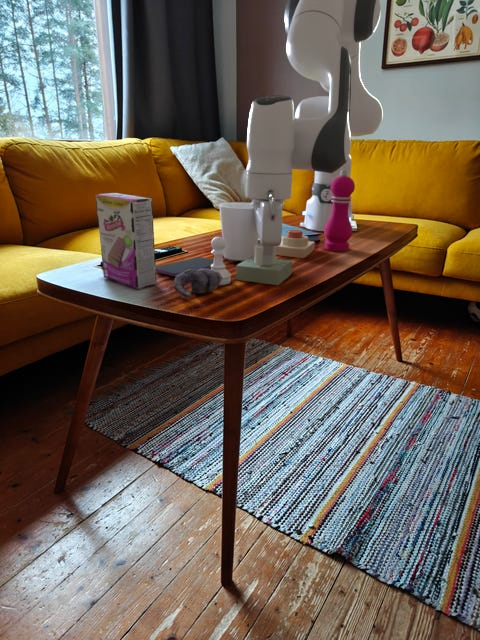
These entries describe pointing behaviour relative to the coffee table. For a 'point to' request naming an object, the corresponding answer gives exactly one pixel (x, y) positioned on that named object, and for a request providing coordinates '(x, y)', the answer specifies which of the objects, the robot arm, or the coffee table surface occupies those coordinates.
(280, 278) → the dial panel
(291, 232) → the button
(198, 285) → the grey elephant figurine
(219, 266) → the chess pawn
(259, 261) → the knob
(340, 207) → the pepper mill
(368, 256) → the coffee table surface
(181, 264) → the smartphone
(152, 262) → the candy bar box
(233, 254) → the cup
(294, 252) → the button box
